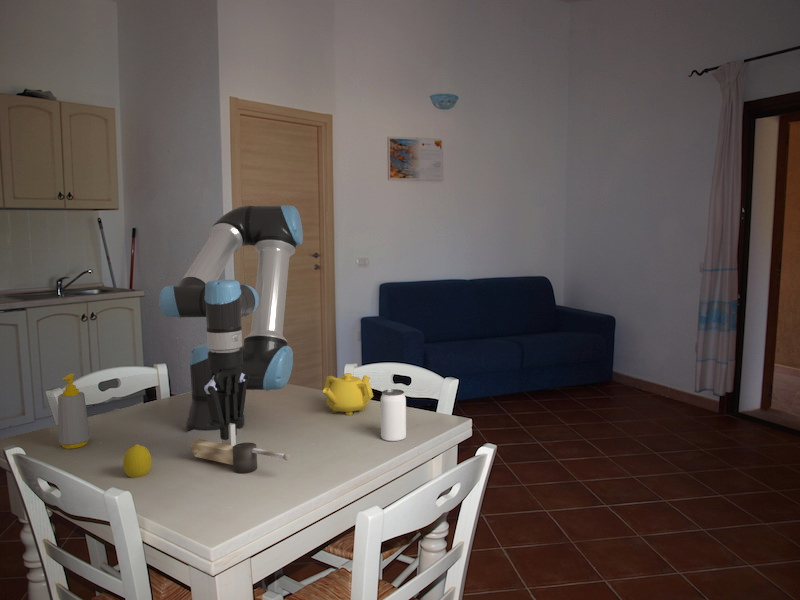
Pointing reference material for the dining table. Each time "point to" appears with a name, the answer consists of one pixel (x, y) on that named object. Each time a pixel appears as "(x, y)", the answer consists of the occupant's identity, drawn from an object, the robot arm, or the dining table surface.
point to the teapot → (347, 393)
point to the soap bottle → (72, 417)
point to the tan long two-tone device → (233, 454)
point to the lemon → (137, 461)
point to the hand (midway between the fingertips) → (229, 451)
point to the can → (393, 415)
